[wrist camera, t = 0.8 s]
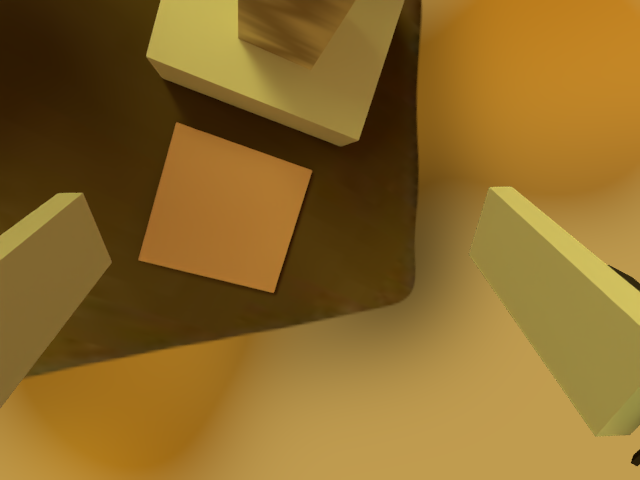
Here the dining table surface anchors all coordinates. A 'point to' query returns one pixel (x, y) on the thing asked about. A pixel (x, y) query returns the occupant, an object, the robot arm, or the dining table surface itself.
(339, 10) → the maple block
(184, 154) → the tile pad
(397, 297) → the dining table surface
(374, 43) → the l-shaped bookend
